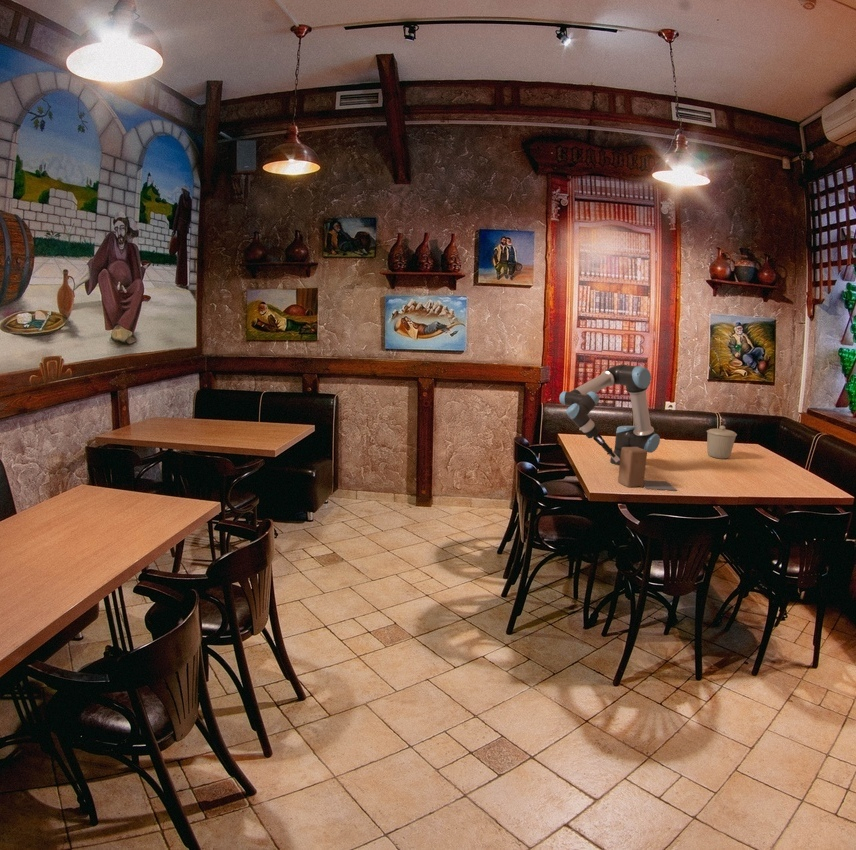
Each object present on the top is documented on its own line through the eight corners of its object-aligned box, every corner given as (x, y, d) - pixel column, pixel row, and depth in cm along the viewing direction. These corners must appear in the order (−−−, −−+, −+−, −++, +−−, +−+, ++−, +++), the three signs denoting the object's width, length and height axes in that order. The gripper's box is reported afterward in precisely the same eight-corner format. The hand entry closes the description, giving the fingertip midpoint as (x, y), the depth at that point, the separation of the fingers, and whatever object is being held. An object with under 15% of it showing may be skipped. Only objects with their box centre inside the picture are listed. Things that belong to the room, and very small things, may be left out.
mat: (636, 480, 334) (636, 479, 334) (665, 482, 334) (666, 481, 334) (646, 489, 318) (646, 488, 318) (677, 491, 318) (677, 489, 318)
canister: (734, 461, 387) (739, 429, 383) (703, 458, 394) (707, 426, 390) (732, 456, 404) (737, 424, 400) (703, 452, 411) (707, 421, 407)
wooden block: (627, 487, 320) (631, 451, 316) (617, 482, 330) (620, 446, 326) (644, 487, 323) (648, 450, 319) (633, 481, 332) (637, 446, 328)
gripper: (581, 430, 328) (608, 462, 331) (586, 435, 315) (615, 468, 318) (591, 421, 326) (619, 453, 330) (598, 426, 314) (627, 459, 317)
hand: (617, 460), depth 324 cm, fingers closed
